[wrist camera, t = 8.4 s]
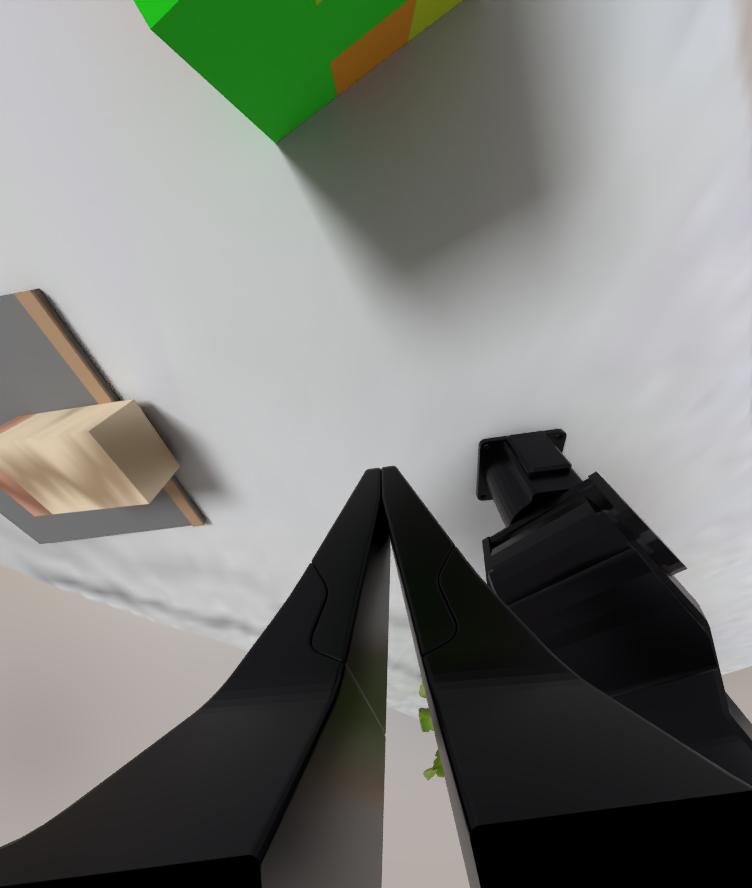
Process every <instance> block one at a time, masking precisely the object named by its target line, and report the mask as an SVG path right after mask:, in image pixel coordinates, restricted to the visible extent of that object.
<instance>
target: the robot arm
mask: <svg viewBox="0 0 752 888" xmlns="http://www.w3.org/2000/svg"><path fill="white" fill-rule="evenodd" d="M558 435H559V436H558ZM557 436H558V437H557ZM565 439H566V433H565V432H564V431H563V430H562V429H554V430H547V431H538V432H530V433H523V434H516V435H510V436H503V437H495V438H488V439H483V440H482V441H480V443H479V449H478V469H477V489H476V495H477V498H478V499H479V500H481V501H484V500H492V499H493V500H494V502H495V504H496V507H497V509H498V511H499V513H500V515H501V518H502V520H503V522H504V524H505V526H506V528H505V529H503V530H501V531H500V532H498V533H496V534H495V535H493V536H491V537H487V538H485V539H484V540H482V543H483V552H484V561H485V570H486V579H487V584H486V583H485V582H484V581H483V579H482V578H481V577H480V576H479V575H478V574H477V572H476V571H475V570H474V569H473V567H472V566H471V565H470V564H469V562H468V561H467V560H466V559H465V557H464V556H463V555H462V553H461V552H460V551H459V549H458V548H457V547H455V544H454V543H453V542H452V540H451V539H450V538H449V536H448V535H447V534H446V532H445V531H444V530H443V528H442V527H441V526H440V524H439V523H438V522H437V520H436V519H435V518H434V516H433V515H432V514H431V512H430V511H429V510H428V508H427V507H426V506H425V504H424V503H423V502H422V500H421V499H420V498H419V496H418V495H417V494H416V492H415V491H414V490H413V488H412V487H411V486H410V485H409V483H408V482H407V481H406V479H405V478H404V477H403V475H402V474H401V473H400V471H399V470H398V469H397V467H396V466H388V467H383V468H382V469H380V468H373V469H367V470H366V471H365V473H364V475H363V476H362V478H361V480H360V481H359V483H358V485H357V486H356V488H355V490H354V491H353V493H352V495H351V496H350V498H349V500H348V501H347V503H346V505H345V506H344V508H343V510H342V511H341V513H340V514H339V516H338V518H337V519H336V521H335V523H334V524H333V526H332V528H331V529H330V531H329V533H328V534H327V536H326V538H325V539H324V541H323V543H322V544H321V546H320V548H319V549H318V551H317V553H316V554H315V556H314V558H313V559H312V563H310V564H309V566H308V567H307V569H306V571H305V572H304V574H303V576H302V577H301V579H300V580H299V582H298V584H297V585H296V587H295V588H294V590H293V591H292V593H291V594H290V596H289V597H288V599H287V600H286V602H285V603H284V604H283V606H282V607H281V609H280V610H279V611H278V613H277V614H276V616H275V617H274V618H273V620H272V621H271V622H270V624H269V625H268V626H267V628H266V629H265V630H264V632H263V633H262V634H261V636H260V637H259V638H258V640H257V641H256V643H255V644H254V645H253V647H252V648H251V649H250V651H249V652H248V653H247V655H246V656H245V657H244V659H243V660H242V661H241V663H240V664H239V665H238V667H237V668H236V669H235V671H234V672H233V673H232V675H231V676H230V677H229V678H228V680H227V681H226V682H225V683H224V684H223V686H222V687H221V688H220V689H219V690H218V691H217V692H216V693H215V694H214V695H213V696H212V697H211V698H210V700H208V701H207V702H206V703H205V704H204V705H203V706H202V707H201V708H200V709H199V710H197V711H196V712H195V713H194V714H192V715H191V716H190V717H188V718H187V719H186V720H184V721H183V722H182V723H180V724H179V725H178V726H176V727H175V728H174V729H172V730H171V731H170V732H168V733H167V734H166V735H165V736H163V737H162V738H161V739H159V740H158V741H156V742H155V743H154V744H152V745H151V746H150V747H148V748H147V749H146V750H144V751H143V752H142V753H140V754H139V755H138V756H136V757H135V758H134V759H132V760H131V761H130V762H128V763H127V764H126V765H124V766H123V767H122V768H120V769H119V770H118V771H116V772H115V773H114V774H112V775H111V776H110V777H108V778H107V779H106V780H104V781H103V782H102V783H100V784H99V785H98V786H96V787H95V788H93V789H92V790H91V791H89V792H88V793H87V794H86V795H84V796H83V797H81V798H80V799H79V800H77V801H76V802H75V803H73V804H72V805H71V806H69V807H68V808H67V809H65V810H64V811H62V812H61V813H60V814H58V815H57V816H55V817H54V818H52V819H51V820H49V821H48V822H47V823H45V824H44V825H42V826H40V827H39V828H37V829H35V830H34V831H32V832H30V833H29V834H27V835H25V836H23V837H21V838H20V839H17V840H15V841H13V842H11V843H8V844H6V845H4V846H2V847H0V888H381V882H382V845H383V843H382V842H383V809H384V772H385V732H386V697H387V660H388V623H389V586H390V540H391V545H392V550H393V554H394V559H395V563H396V567H397V572H398V576H399V580H400V585H401V589H402V593H403V598H404V602H405V606H406V611H407V615H408V619H409V624H410V628H411V632H412V637H413V641H414V645H415V650H416V654H417V658H418V663H419V667H420V671H421V676H422V680H423V684H424V689H425V693H426V698H427V702H428V706H429V711H430V715H431V719H432V724H433V728H434V731H435V737H436V741H437V745H438V750H439V754H440V758H441V763H442V767H443V771H444V776H445V780H446V784H447V788H448V792H449V797H450V802H451V806H452V810H453V814H454V819H455V823H456V828H457V832H458V836H459V841H460V845H461V850H462V854H463V858H464V862H465V867H466V871H467V875H468V880H469V884H470V888H752V724H751V723H750V721H749V720H748V719H747V718H746V717H745V715H744V714H743V713H742V712H741V710H740V709H739V708H738V707H737V705H736V704H735V703H734V702H733V701H732V700H731V698H730V697H729V696H728V694H727V693H726V692H725V690H724V686H723V681H722V677H721V673H720V668H719V664H718V660H717V656H716V651H715V647H714V643H713V639H712V634H711V630H710V627H709V624H708V622H707V620H706V618H705V616H704V614H703V612H702V610H701V608H700V606H699V605H698V603H697V602H696V600H695V599H694V598H693V597H692V596H691V595H690V594H689V593H688V591H687V590H686V589H685V588H684V587H683V586H682V585H681V584H680V582H679V581H678V580H677V579H676V578H675V577H674V576H673V575H674V574H676V573H678V572H681V571H683V570H686V569H687V567H686V566H685V565H684V564H683V563H682V562H681V561H680V560H679V559H678V558H677V557H676V556H675V554H674V553H673V552H672V551H671V550H670V549H669V548H668V547H667V546H666V545H665V544H664V542H663V541H662V540H661V539H660V538H659V537H658V536H657V535H656V534H655V533H654V532H653V531H652V529H651V528H650V527H649V526H648V525H647V524H646V523H645V522H644V521H643V520H642V519H641V518H640V517H639V516H638V515H637V514H636V512H635V511H634V510H633V509H632V508H631V507H630V506H629V505H628V504H627V503H626V502H625V501H624V500H623V499H622V498H621V497H620V496H619V495H618V494H617V492H616V491H615V490H614V489H613V488H612V487H611V486H610V485H609V484H608V483H607V482H606V481H605V480H604V479H603V478H602V477H601V476H600V475H599V474H598V473H597V472H595V473H593V474H591V475H590V476H588V477H589V478H588V479H586V480H585V481H582V480H581V478H580V477H579V476H578V475H577V474H576V472H575V471H574V470H573V469H572V468H571V467H572V465H571V463H570V462H569V461H568V460H567V459H566V458H565V456H564V455H563V454H562V451H563V447H564V443H565ZM486 444H488V445H487V446H485V447H484V445H486Z"/></svg>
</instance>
